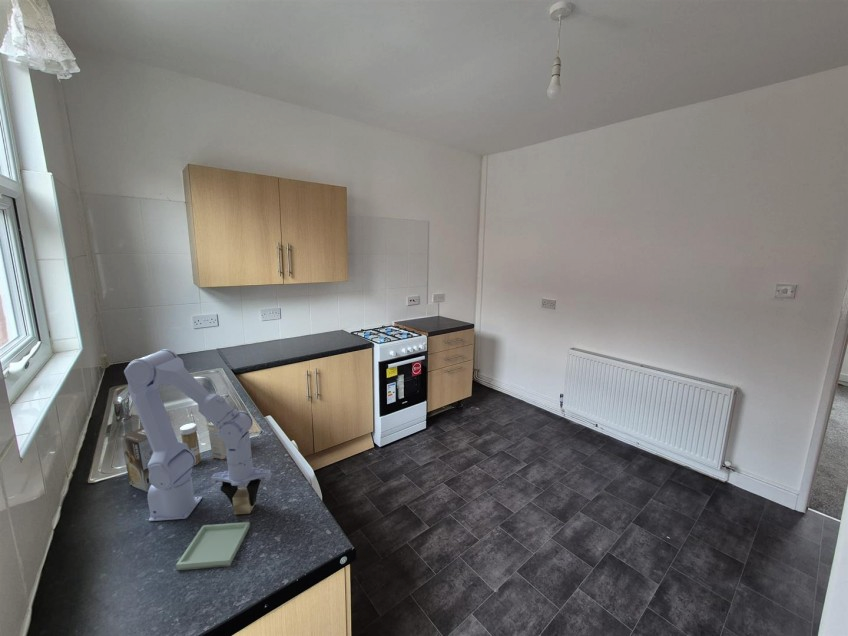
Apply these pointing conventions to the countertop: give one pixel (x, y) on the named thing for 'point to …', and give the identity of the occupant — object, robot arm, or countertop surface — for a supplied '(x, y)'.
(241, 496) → the beech block
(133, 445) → the coffee box
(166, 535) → the countertop surface
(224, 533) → the tray
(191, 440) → the sprinkles bottle
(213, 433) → the supplement box
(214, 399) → the robot arm
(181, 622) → the countertop surface
